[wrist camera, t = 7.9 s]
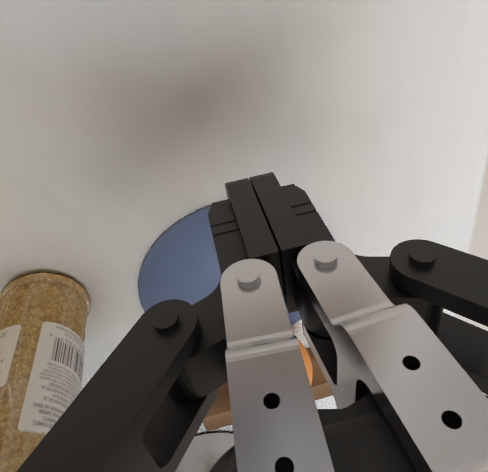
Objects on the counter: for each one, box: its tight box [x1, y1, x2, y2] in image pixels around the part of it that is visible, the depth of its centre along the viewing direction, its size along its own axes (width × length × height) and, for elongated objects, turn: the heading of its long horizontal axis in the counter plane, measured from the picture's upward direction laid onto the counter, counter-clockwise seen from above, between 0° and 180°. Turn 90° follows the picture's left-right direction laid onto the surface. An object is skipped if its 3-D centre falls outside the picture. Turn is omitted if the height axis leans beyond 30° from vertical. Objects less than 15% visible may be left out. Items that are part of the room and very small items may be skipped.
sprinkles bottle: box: [0, 273, 90, 472], centre depth 17 cm, size 5×5×14 cm
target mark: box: [138, 206, 301, 326], centre depth 24 cm, size 12×12×1 cm
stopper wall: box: [203, 348, 333, 431], centre depth 30 cm, size 2×10×3 cm, turn 99°
